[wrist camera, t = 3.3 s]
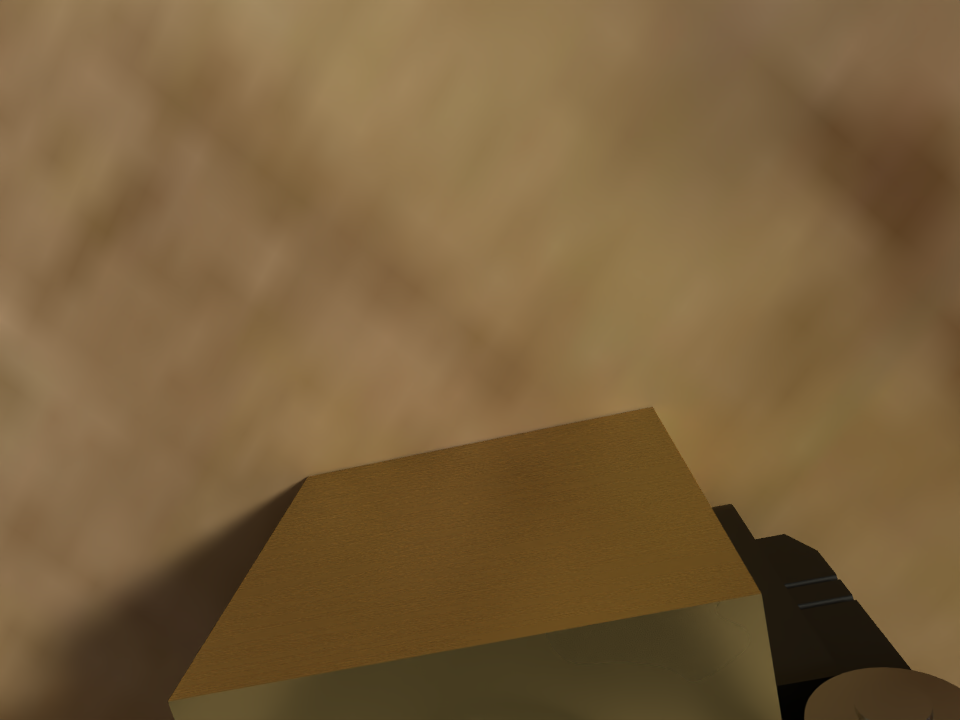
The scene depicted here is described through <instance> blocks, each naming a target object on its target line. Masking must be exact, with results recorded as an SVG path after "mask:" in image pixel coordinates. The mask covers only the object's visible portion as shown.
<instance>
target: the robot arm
mask: <svg viewBox="0 0 960 720" xmlns="http://www.w3.org/2000/svg"><path fill="white" fill-rule="evenodd" d="M712 510H713V511H714V513H715V515H716V516H717V518H718V520H719V522H720V523H721V525H722V527H723V528H724V530H725V532H726V534H727V535H728V537H729V539H730V540H731V542H732V544H733V546H734V547H735V549H736V551H737V552H738V554H739V556H740V558H741V559H742V561H743V563H744V564H745V566H746V568H747V570H748V571H749V573H750V575H751V577H752V578H753V580H754V582H755V583H756V585H757V587H758V589H759V590H760V592H761V594H762V600H763V606H764V612H765V618H766V625H767V631H768V637H769V643H770V650H771V656H772V662H773V668H774V675H775V681H776V687H777V693H778V700H779V706H780V712H781V718H782V720H960V688H959V687H957V686H955V685H953V684H951V683H949V682H947V681H945V680H943V679H940V678H937V677H935V676H932V675H929V674H925V673H922V672H918V671H913V670H911V669H910V667H909V666H908V665H907V664H906V662H905V661H904V660H903V658H902V657H901V656H900V655H899V653H898V652H897V651H896V650H895V648H894V647H893V646H892V645H891V643H890V642H889V641H888V639H887V638H886V637H885V636H884V634H883V633H882V632H881V631H880V629H879V628H878V627H877V626H876V624H875V623H874V622H873V620H872V619H871V618H870V617H869V615H868V614H867V613H866V612H865V610H864V609H863V608H862V607H861V605H860V604H859V603H858V601H857V600H854V599H853V596H852V594H851V593H850V591H849V590H848V589H847V588H846V586H845V585H844V584H843V582H842V581H841V580H840V579H839V580H838V579H837V576H836V574H835V572H834V571H833V570H832V568H831V567H830V566H829V565H828V563H827V562H826V561H825V560H824V558H823V557H822V556H821V555H820V553H819V552H818V551H817V550H815V549H813V548H811V547H809V546H807V545H805V544H803V543H801V542H799V541H797V540H795V539H793V538H791V537H789V536H787V535H785V534H782V535H777V536H772V537H766V538H761V539H756V540H755V539H754V537H753V536H752V534H751V533H750V531H749V529H748V528H747V526H746V525H745V523H744V522H743V520H742V519H741V517H740V516H739V514H738V512H737V511H736V509H735V508H734V507H733V505H732V504H728V505H722V506H717V507H712Z"/></svg>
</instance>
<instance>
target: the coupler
mask: <svg viewBox="0 0 960 720" xmlns="http://www.w3.org/2000/svg"><path fill="white" fill-rule="evenodd" d="M168 703H169V706H170V709H171V712H172V715H173V717H174V720H782V718H781V712H780V706H779V700H778V693H777V687H776V681H775V675H774V668H773V662H772V656H771V650H770V643H769V637H768V631H767V625H766V618H765V612H764V606H763V600H762V594H761V592H760V590H759V589H758V587H757V585H756V583H755V582H754V580H753V578H752V577H751V575H750V573H749V571H748V570H747V568H746V566H745V564H744V563H743V561H742V559H741V558H740V556H739V554H738V552H737V551H736V549H735V547H734V546H733V544H732V542H731V540H730V539H729V537H728V535H727V534H726V532H725V530H724V528H723V527H722V525H721V523H720V522H719V520H718V518H717V516H716V515H715V513H714V511H713V510H712V508H711V506H710V504H709V503H708V501H707V499H706V498H705V496H704V494H703V492H702V491H701V489H700V487H699V486H698V484H697V482H696V480H695V479H694V477H693V475H692V474H691V472H690V470H689V468H688V467H687V465H686V463H685V462H684V460H683V458H682V456H681V455H680V453H679V451H678V450H677V448H676V446H675V444H674V443H673V441H672V439H671V438H670V436H669V434H668V432H667V431H666V429H665V427H664V426H663V424H662V422H661V420H660V419H659V417H658V415H657V414H656V412H655V410H654V408H653V407H650V408H645V409H640V410H635V411H630V412H625V413H621V414H616V415H611V416H606V417H601V418H596V419H591V420H586V421H581V422H576V423H571V424H566V425H561V426H556V427H552V428H547V429H542V430H537V431H532V432H527V433H522V434H517V435H512V436H507V437H502V438H497V439H492V440H487V441H482V442H478V443H473V444H468V445H463V446H458V447H453V448H448V449H443V450H438V451H433V452H428V453H423V454H418V455H413V456H409V457H404V458H399V459H394V460H389V461H384V462H379V463H374V464H369V465H364V466H359V467H354V468H349V469H344V470H339V471H335V472H330V473H325V474H320V475H315V476H310V477H307V479H306V481H305V482H304V484H303V485H302V487H301V489H300V490H299V492H298V493H297V495H296V497H295V498H294V500H293V501H292V503H291V505H290V506H289V508H288V509H287V511H286V513H285V514H284V516H283V517H282V519H281V521H280V522H279V524H278V525H277V527H276V529H275V530H274V532H273V533H272V535H271V537H270V538H269V540H268V542H267V543H266V545H265V546H264V548H263V550H262V551H261V553H260V554H259V556H258V558H257V559H256V561H255V562H254V564H253V566H252V567H251V569H250V570H249V572H248V574H247V575H246V577H245V578H244V580H243V582H242V583H241V585H240V586H239V588H238V590H237V591H236V593H235V594H234V596H233V598H232V599H231V601H230V603H229V604H228V606H227V607H226V609H225V611H224V612H223V614H222V615H221V617H220V619H219V620H218V622H217V623H216V625H215V627H214V628H213V630H212V631H211V633H210V635H209V636H208V638H207V639H206V641H205V643H204V644H203V646H202V647H201V649H200V651H199V652H198V654H197V655H196V657H195V659H194V660H193V662H192V664H191V665H190V667H189V668H188V670H187V672H186V673H185V675H184V676H183V678H182V680H181V681H180V683H179V684H178V686H177V688H176V689H175V691H174V692H173V694H172V696H171V697H170V699H169V700H168Z"/></svg>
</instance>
